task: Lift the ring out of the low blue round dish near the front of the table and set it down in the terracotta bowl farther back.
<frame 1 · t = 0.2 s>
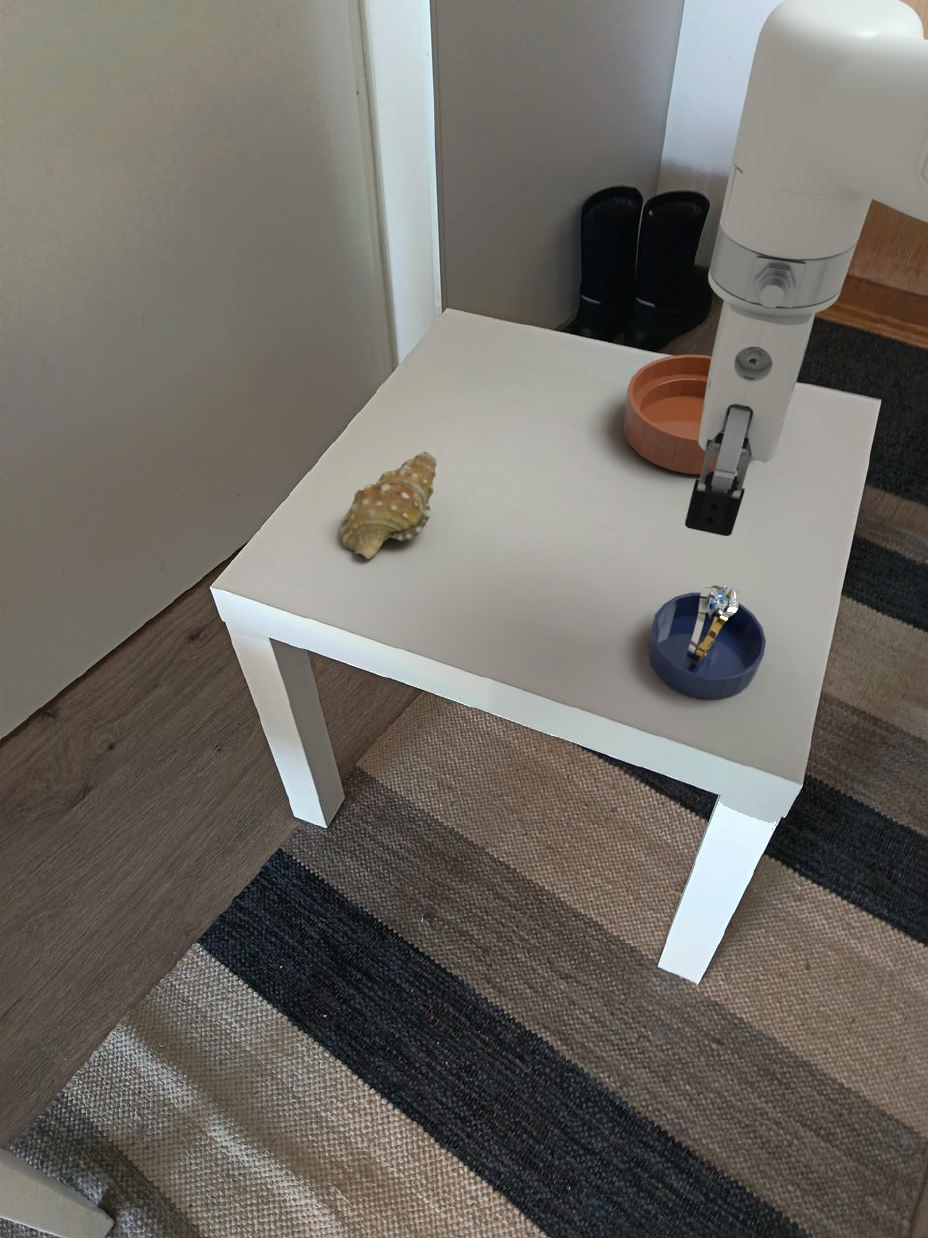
hand: (718, 484, 62), 18 cm above the table, tool pointing down, fingers open, 9 cm apart
seashell: (394, 523, 87), on the table
bowl: (691, 433, 95), on the table
blue round dish: (701, 655, 75), on the table
ring: (701, 655, 75), resting on blue round dish
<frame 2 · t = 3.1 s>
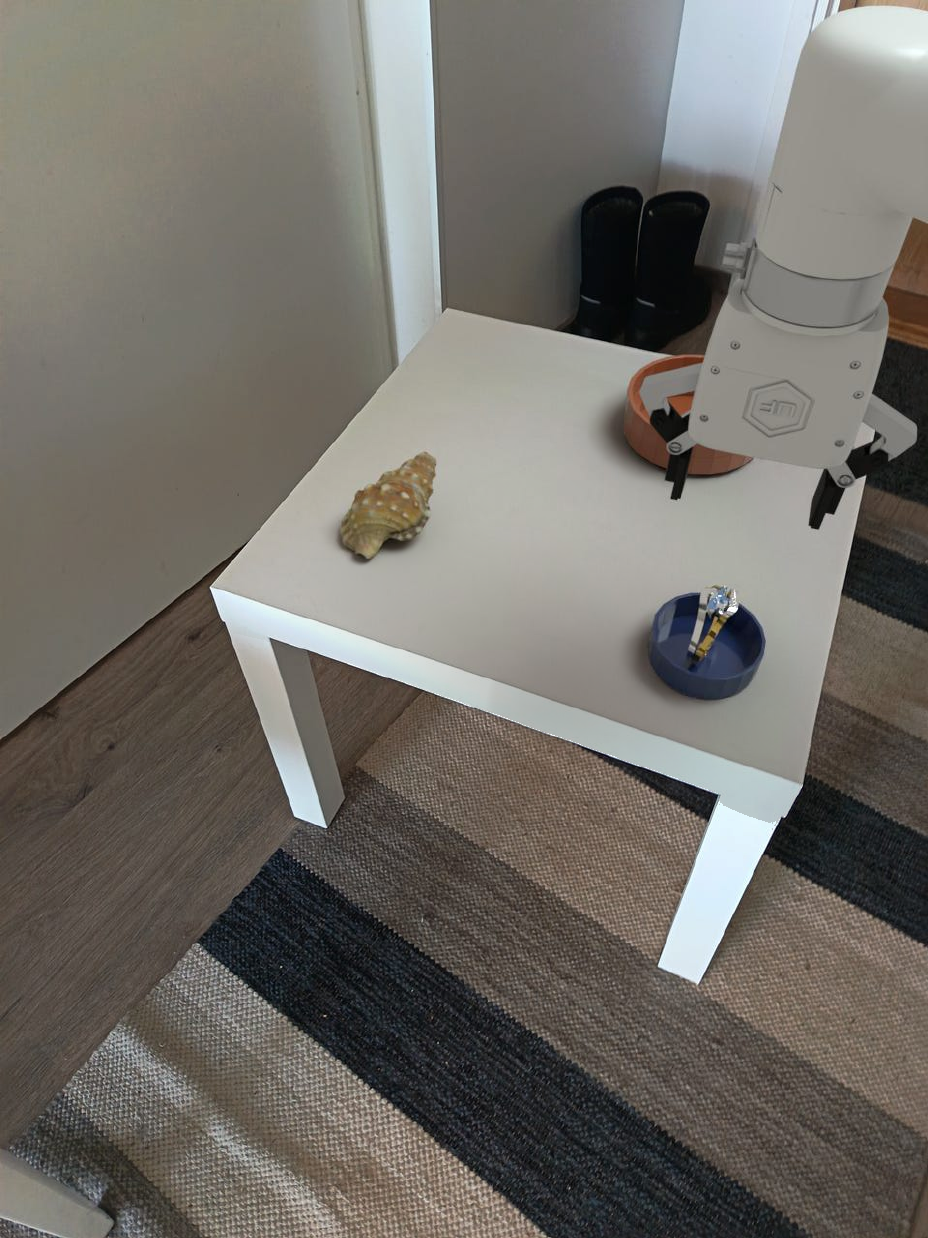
hand: (745, 501, 62), 18 cm above the table, tool pointing down, fingers open, 9 cm apart
nothing on the table moved.
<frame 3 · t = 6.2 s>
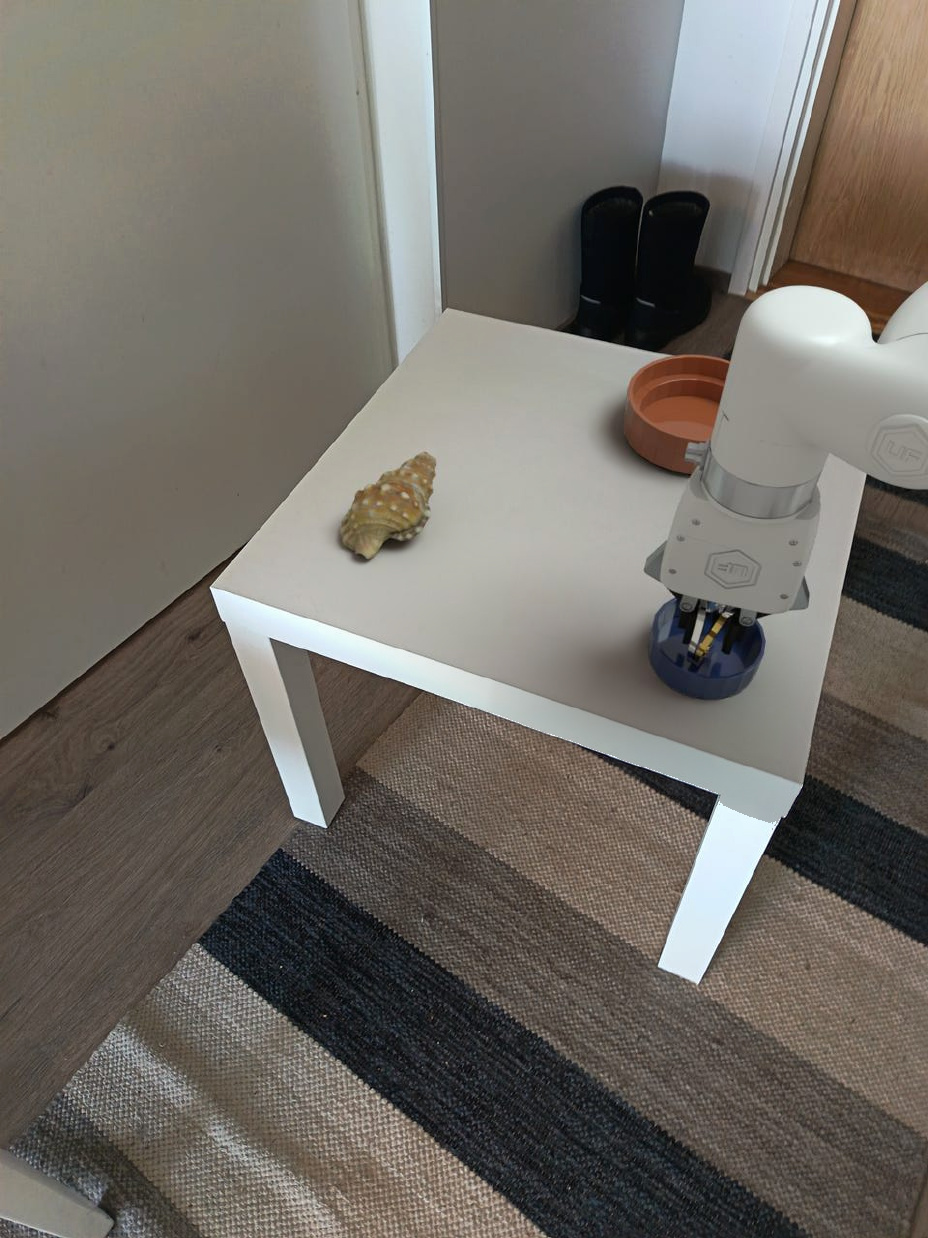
hand: (708, 635, 73), 3 cm above the table, tool pointing down, fingers closed on ring, 2 cm apart
ring: (701, 655, 75), resting on blue round dish, touching gripper
everything else where it was.
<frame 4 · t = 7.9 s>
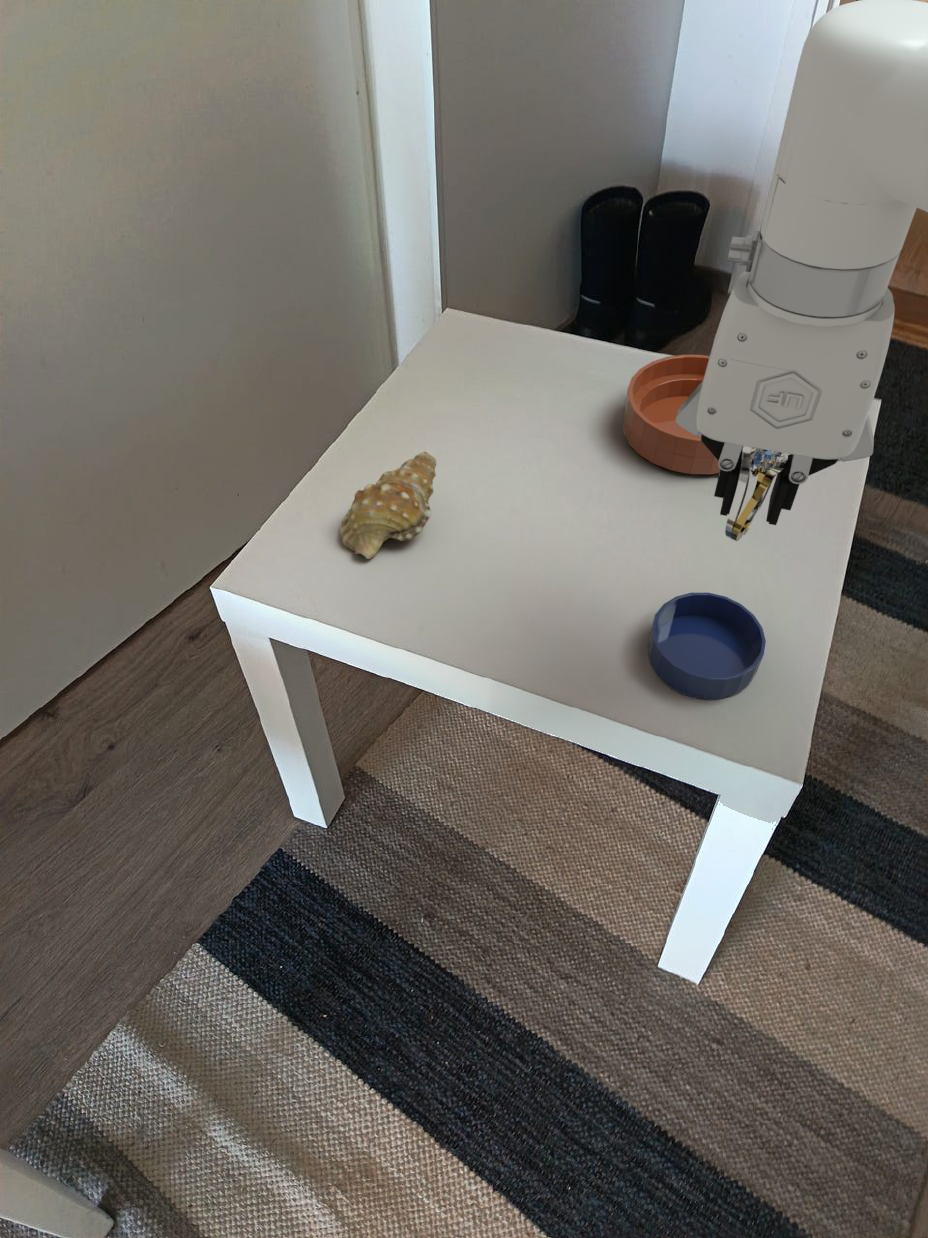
hand: (750, 505, 63), 17 cm above the table, tool pointing down, fingers closed on ring, 2 cm apart
ring: (740, 532, 65), point 14 cm above the table, touching gripper
everything else where it was.
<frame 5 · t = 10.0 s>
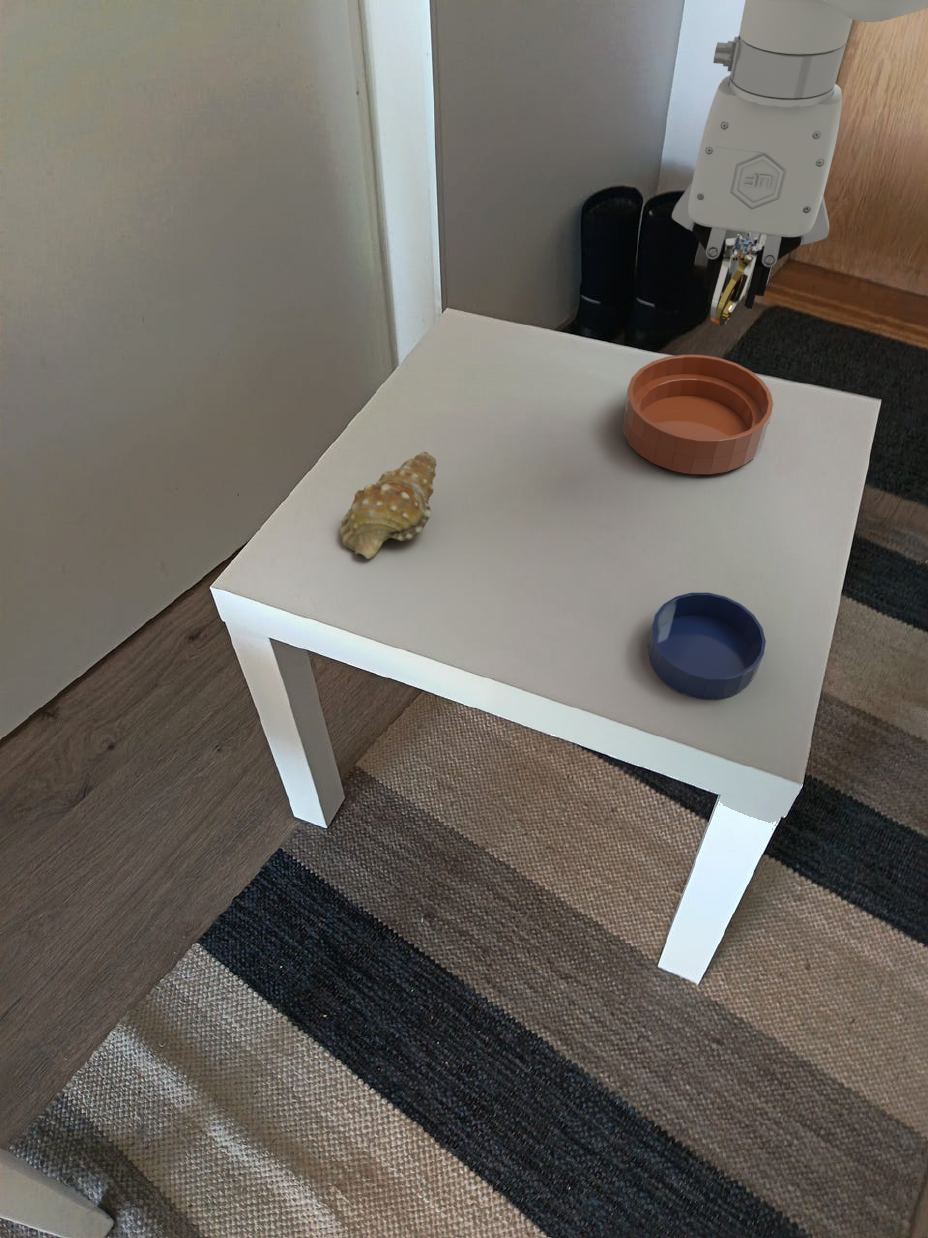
hand: (731, 296, 77), 19 cm above the table, tool pointing down, fingers closed on ring, 2 cm apart
ring: (722, 323, 79), point 16 cm above the table, touching gripper
everything else where it was.
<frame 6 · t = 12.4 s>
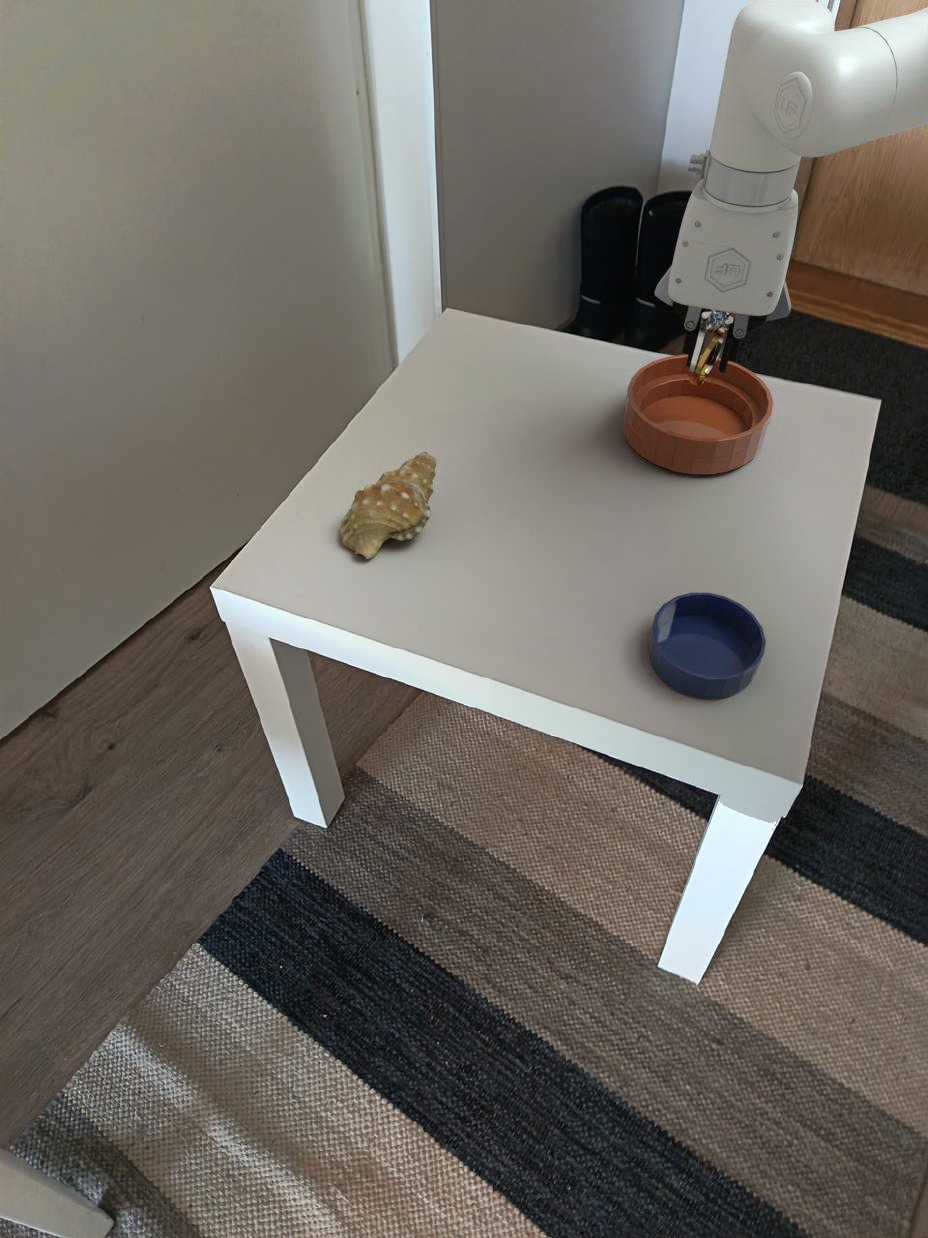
hand: (707, 360, 87), 9 cm above the table, tool pointing down, fingers closed on ring, 2 cm apart
ring: (700, 383, 90), point 6 cm above the table, touching gripper
everything else where it was.
when the fingers open (3 cm above the table, at t = 14.1 s): ring stays where it is, resting on bowl.
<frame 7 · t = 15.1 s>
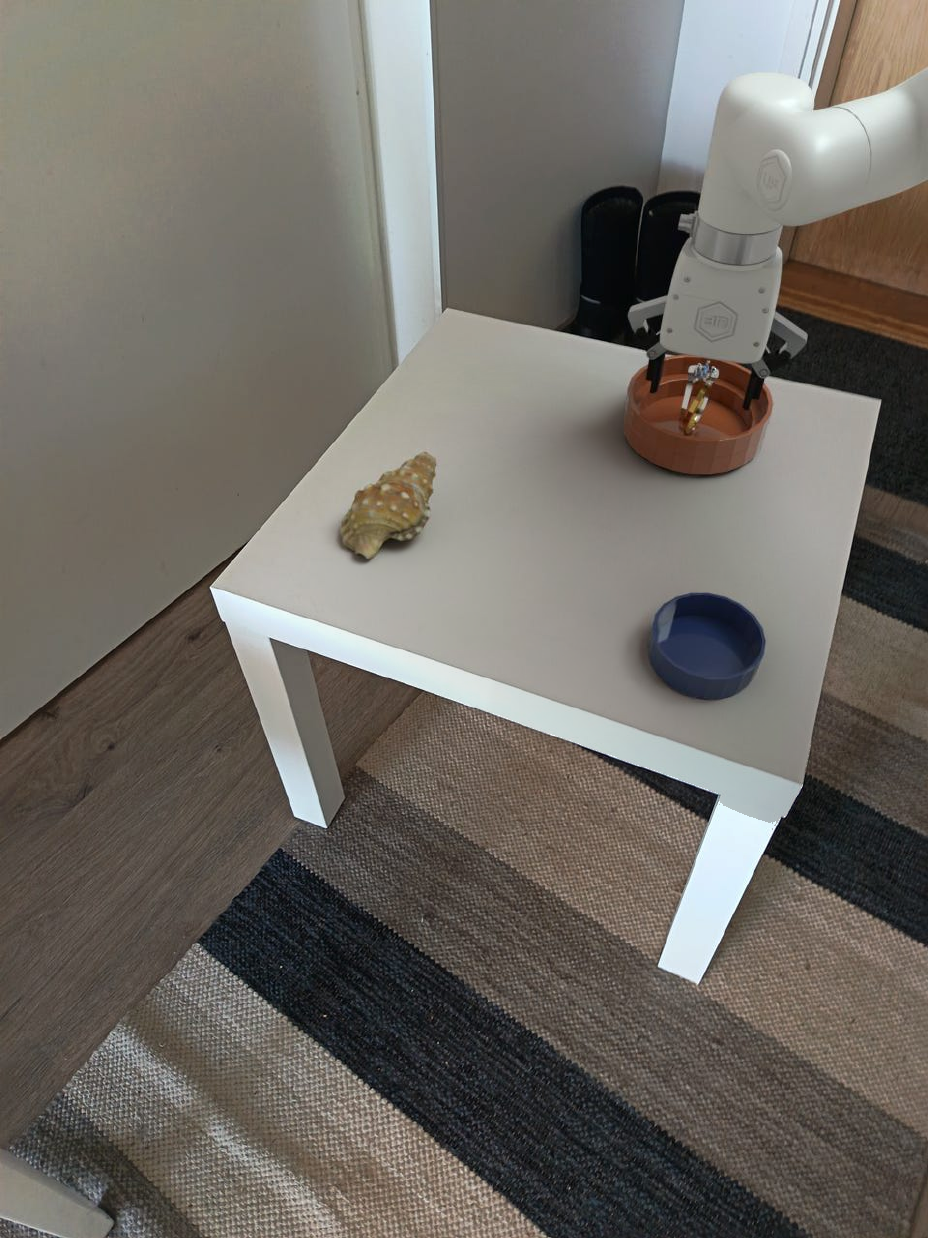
hand: (700, 394, 91), 5 cm above the table, tool pointing down, fingers open, 9 cm apart
ring: (690, 430, 94), resting on bowl
everything else where it was.
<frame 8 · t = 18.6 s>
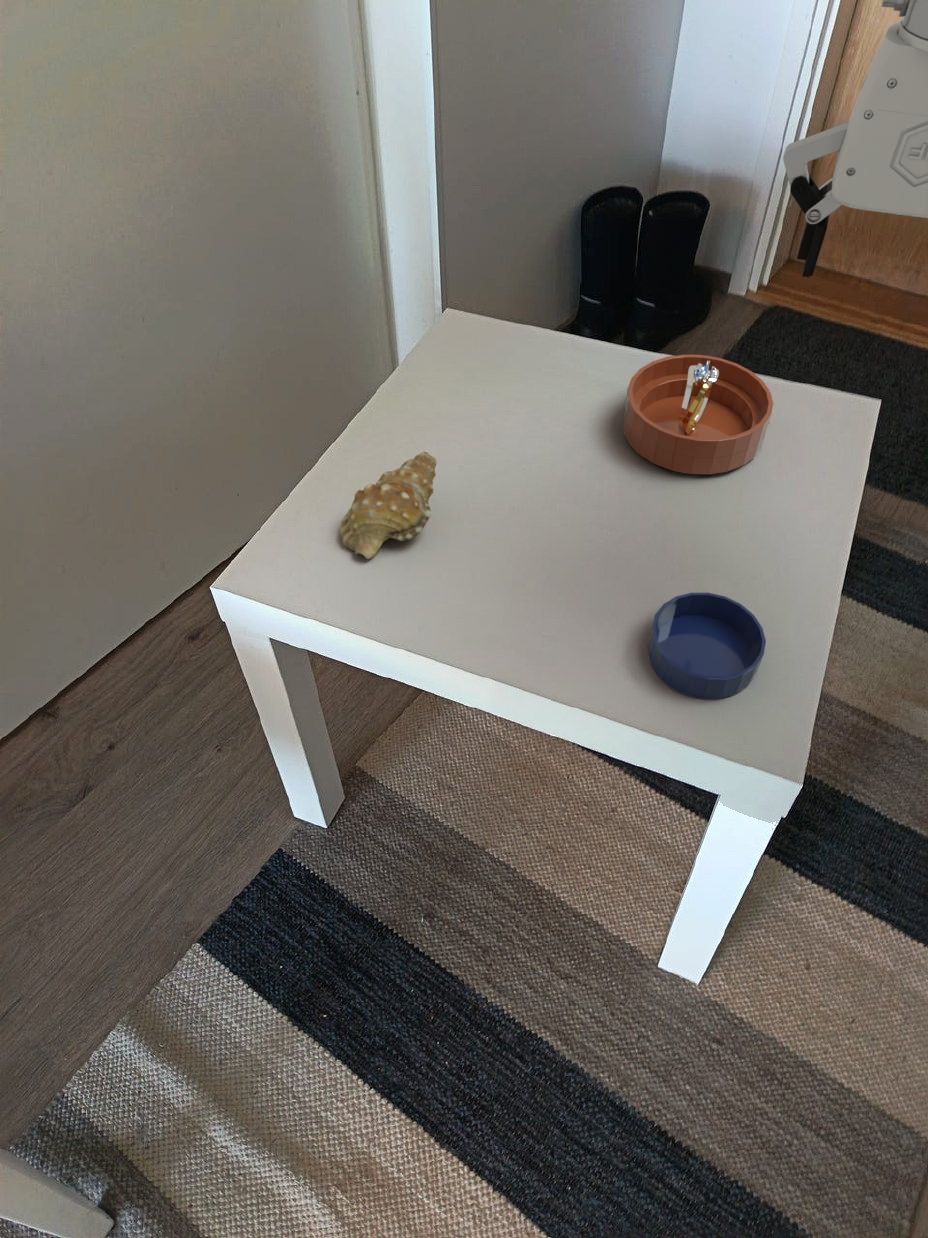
hand: (874, 278, 65), 26 cm above the table, tool pointing down, fingers open, 9 cm apart
nothing on the table moved.
at the end: ring inside the target area in the bowl (0.1 cm from its centre), point 0.4 cm above the bowl's base; the gripper is holding nothing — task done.
